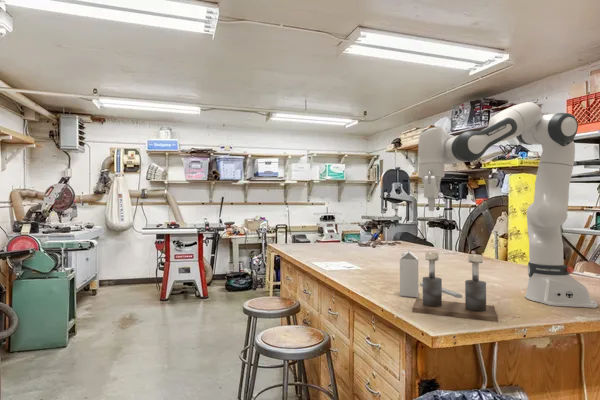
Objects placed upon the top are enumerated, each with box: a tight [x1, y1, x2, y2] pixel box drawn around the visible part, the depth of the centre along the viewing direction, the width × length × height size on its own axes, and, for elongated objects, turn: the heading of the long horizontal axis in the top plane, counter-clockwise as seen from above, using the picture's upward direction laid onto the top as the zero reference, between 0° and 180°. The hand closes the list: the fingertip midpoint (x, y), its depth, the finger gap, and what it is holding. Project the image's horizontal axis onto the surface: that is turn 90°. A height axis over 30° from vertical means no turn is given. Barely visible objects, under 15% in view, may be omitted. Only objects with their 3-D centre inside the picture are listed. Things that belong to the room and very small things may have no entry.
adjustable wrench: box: [419, 282, 463, 299], centre depth 156 cm, size 25×6×2 cm, turn 11°
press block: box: [411, 276, 499, 323], centre depth 126 cm, size 26×14×11 cm, turn 66°
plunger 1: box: [424, 251, 440, 278], centre depth 129 cm, size 4×4×9 cm
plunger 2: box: [467, 253, 484, 282], centre depth 123 cm, size 4×4×9 cm
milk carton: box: [399, 247, 419, 298], centre depth 148 cm, size 7×7×19 cm
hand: (431, 210), depth 129 cm, fingers closed
